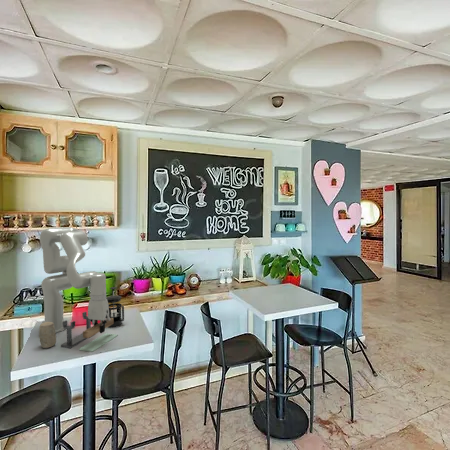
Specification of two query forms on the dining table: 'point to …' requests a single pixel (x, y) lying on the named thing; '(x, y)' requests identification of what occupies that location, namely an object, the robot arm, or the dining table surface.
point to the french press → (117, 314)
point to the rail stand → (75, 340)
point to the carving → (47, 334)
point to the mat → (98, 342)
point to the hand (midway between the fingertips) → (99, 331)
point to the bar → (96, 329)
